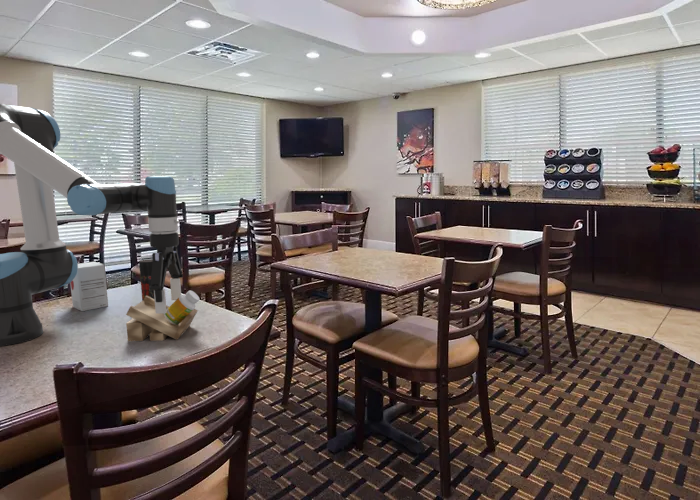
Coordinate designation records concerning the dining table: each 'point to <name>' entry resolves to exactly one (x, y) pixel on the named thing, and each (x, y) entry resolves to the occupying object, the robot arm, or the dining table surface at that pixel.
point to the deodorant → (146, 277)
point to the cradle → (153, 323)
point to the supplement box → (89, 287)
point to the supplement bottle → (181, 308)
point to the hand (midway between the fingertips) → (169, 306)
